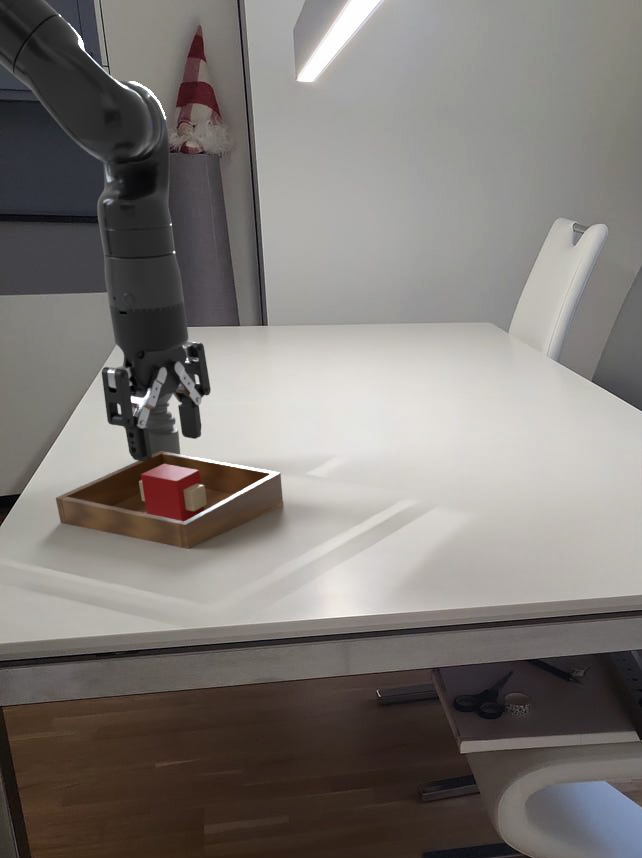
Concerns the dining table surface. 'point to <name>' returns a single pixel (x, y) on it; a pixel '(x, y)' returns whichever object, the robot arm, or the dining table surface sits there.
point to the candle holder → (162, 427)
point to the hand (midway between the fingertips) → (167, 448)
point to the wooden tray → (121, 514)
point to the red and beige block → (173, 492)
